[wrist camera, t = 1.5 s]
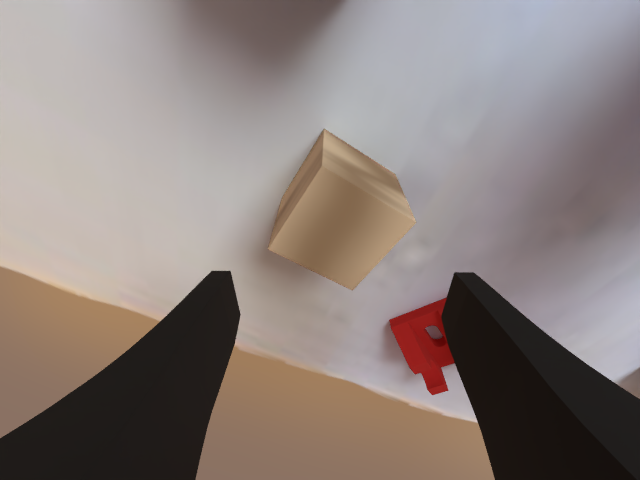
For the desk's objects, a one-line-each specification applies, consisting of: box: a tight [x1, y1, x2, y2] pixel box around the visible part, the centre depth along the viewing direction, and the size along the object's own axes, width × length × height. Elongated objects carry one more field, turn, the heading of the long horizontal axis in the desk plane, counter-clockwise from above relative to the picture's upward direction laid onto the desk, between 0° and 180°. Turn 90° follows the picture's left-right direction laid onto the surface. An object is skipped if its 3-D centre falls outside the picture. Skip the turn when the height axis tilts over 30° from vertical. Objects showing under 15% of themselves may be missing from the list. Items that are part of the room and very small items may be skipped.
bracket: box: [389, 298, 455, 395], centre depth 23 cm, size 6×5×3 cm
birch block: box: [268, 129, 416, 290], centre depth 15 cm, size 4×4×5 cm
